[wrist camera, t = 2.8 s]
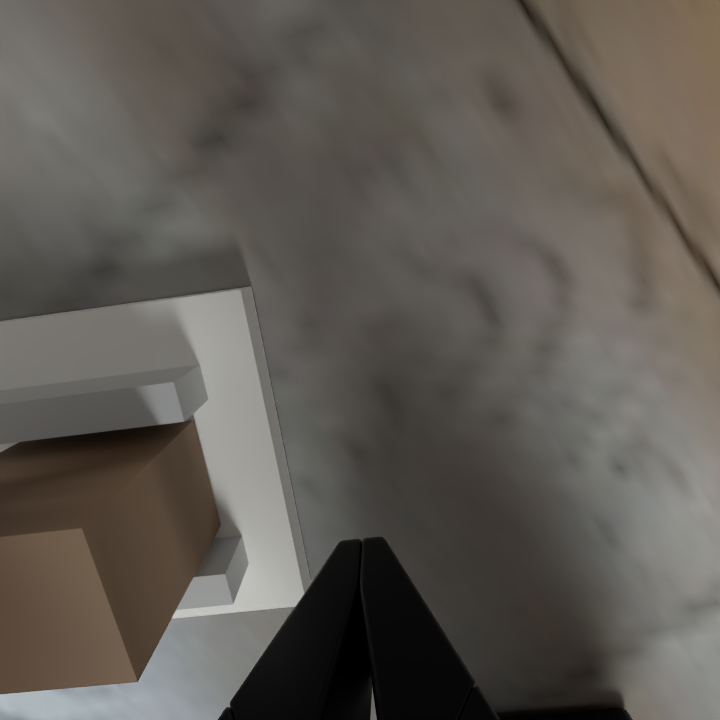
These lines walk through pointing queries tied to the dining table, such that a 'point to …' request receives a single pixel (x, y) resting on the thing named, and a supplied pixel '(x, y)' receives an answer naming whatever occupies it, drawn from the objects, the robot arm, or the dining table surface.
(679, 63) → the dining table surface
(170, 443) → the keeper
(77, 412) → the channel board
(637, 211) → the dining table surface
